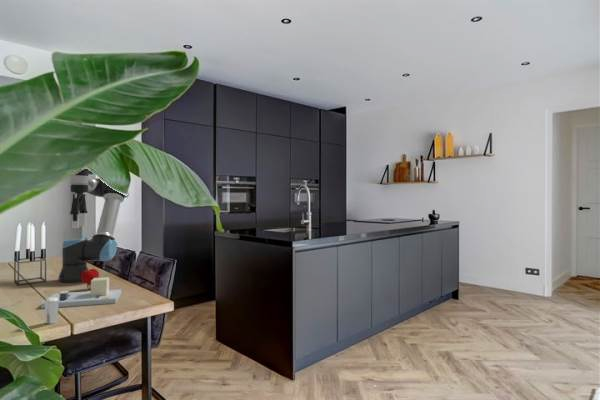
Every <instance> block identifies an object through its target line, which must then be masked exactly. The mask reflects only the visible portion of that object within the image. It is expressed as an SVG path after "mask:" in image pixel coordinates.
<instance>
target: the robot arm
mask: <svg viewBox="0 0 600 400" xmlns="http://www.w3.org/2000/svg"><path fill="white" fill-rule="evenodd" d="M90 175H94V174H93V173H92V172H91V171H89V170H88V169H84V170H82V171H81V172H79V173H78V174H76V175H75V176H73V177H72V178H70V179H69V180H70V183H71V185H70V192H71V193H73V194H72V201H71V209H70V212H69V215H71V229H79V228H80V227H86V219H87V217H86V215H87V214H88V209H87V202H86V193H87V194H89V195H92V196H95V197H98V198H103V199H104V203H103V207H102V209H101V215H100V218H99V223H98V227H97V229H96V230H97V231H96V234H94V235H92V238H91V240H88V238H87V237H79V238H72V239H67V240H64V241H63V243H62V249H61V250H62V261H61V262H62V265H61V270H60V272H59V273H58V274H59V275H58V280H57V282H60V283H76V282H83V281H82V280H81V274H82V273H83V272H84V271H85V270H89V267H88V264H87V263H88V262H105V261H111V260H112V259H114V257H115V256H116V253H117V250H118V243H117V241H116V240H115V239H116V238H115V237H114V233H115V228H116V224H117V220H118V215H119V211H120V207H121V203H123V202H124V200H125V199H126V198H129V195H130V192H129V193H128V195H127V196H125V195H123V194H121V193H119V192H117V191H115V190H113V189H112V188H110V187H109V186H107V185H106V184H105V183H103V182H102V181H101V180H100V179H101V178H97V177H96V178H95V177H94V176H90ZM84 193H85V194H84Z"/></svg>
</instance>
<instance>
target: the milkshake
mask: <svg viewBox="0 0 600 400" xmlns="http://www.w3.org/2000/svg"><path fill="white" fill-rule="evenodd" d="M59 298H60V296H59ZM59 298H56V297H54V298H49V297H48V298H46V299H45V300H44V301H45V302H44V301H43V302H44V303H45V308H44V311H45V313H44V314H45V323H46V324H47V325H51V324H56V323H57V322H58V316H59V315H58V314H59V308H60V307H59Z"/></svg>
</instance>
